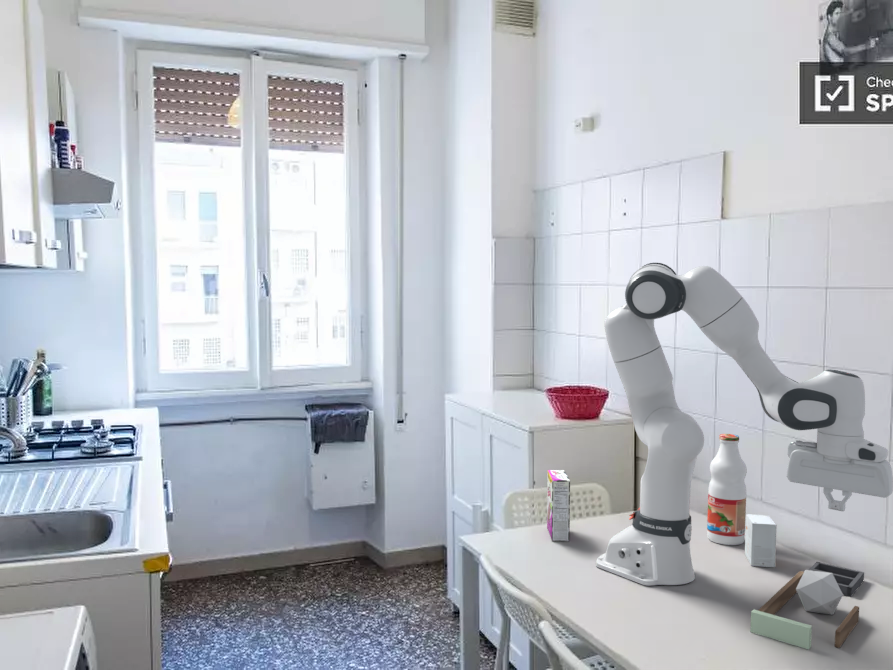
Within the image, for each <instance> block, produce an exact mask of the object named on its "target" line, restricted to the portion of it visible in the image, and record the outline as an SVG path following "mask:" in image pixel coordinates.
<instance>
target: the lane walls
mask: <svg viewBox="0 0 893 670" xmlns="http://www.w3.org/2000/svg"><path fill="white" fill-rule="evenodd" d="M803 573H804V571H801V570H799V571H798V572H797V573H796V574H795V575H794V576H792V578H790V579H789V581H787V583H785V584H784V585H783V586H782V587H781V588H780V589H779V590H778V591H776V593H775V594H774V595H772V597H770V598H769V599H768V600H767V601H766V602H765V603H764V604H763V605H762V606H761V607H760V608H759V609H757V610H758V611H762V612H765V613H769V614H772V615H776V614H777V613H778V612H779V611H780V610H781V609H782V608H783V607H784V606H785V605H787V603H788V602H789V601H790V600H791V599H792V598H793V597H794V596H795V595H796V594H798V593H797V591H796V588H797V586H798V584H799V581H800V579H801V577H802V575H803ZM859 620H860V606H858V605H854V606H853V607H852V609H851V610H850V611H849V613H848V614H847V615H846V616H845V618H844V619H843V620H842V622H841V623H840V624H839V625H838V627H837V628H836V629H835V633H834V647H835V648H838V649H840V648H841V647H842V645H843V644H844V642H845V641H846V639H848V637H849V636H850V634H851V633H852V631H853V630H854V628H855V627H856V626H857V625H858V623H859V622H860V621H859Z"/></svg>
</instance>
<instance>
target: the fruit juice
mask: <svg viewBox="0 0 893 670" xmlns="http://www.w3.org/2000/svg"><path fill="white" fill-rule="evenodd" d="M718 436H719V437H718V439H719V443H720V444H719V448H718V449H717V452H716V455H715V456H714V457H713V459H712V460H711V461H710V464H709V472H710V477H711V478H710V481H709V483H708V490H707V491H708V492H707V493H708V494H707V519H706V521H707V522H706V523H707V524H706V537H707V539H708V540H709V541H711V542H713V543H716V544H719V545H725V546H740V545H742V544H744V543H745V528H746V514H747V513H746V511H747V509H746V507H747V485H746V483H745V478H746V476H747V466H746V463H745V461H744V460H743V458H742V457H741V454H740V451H739V446H738V445H739V442H740V436H739V435H737V434H733V433H721V434H719V435H718Z"/></svg>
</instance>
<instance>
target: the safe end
mask: <svg viewBox="0 0 893 670" xmlns="http://www.w3.org/2000/svg"><path fill="white" fill-rule="evenodd" d="M758 610H759V609H753V610H751V611H750V631H749V632H750V633H753V634H756V635H759V636H763V637H765V638H769V639H773V640H775V641H780V642H781V643H782V642H783V643H785V644H789V645H793V646H795V647H799V648H802V649H806V650H810V649H811V647H812V633H813V632H812V630H813V626H812V625H811V624H808V623H804V622H801V621H797V620H793V619H790V618H786V617H783V616H778V615H776V614H775V615H772V614H769V613H765V612H762V611H758Z"/></svg>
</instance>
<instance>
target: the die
mask: <svg viewBox="0 0 893 670" xmlns="http://www.w3.org/2000/svg"><path fill="white" fill-rule="evenodd" d="M803 572H804V573H803V575H802V577H801V579H800V581H799V584H798V586H797V588H796V591H797V593H796V594H797V595H798V598H799V600H800V602H801V603H802V607H803V608H804V611H806V612H809V613H818V614H825V615H834V613H835V612H836V610H837V608H838V606H839V604H840V603H841V599H842V598H843V596H844V595H843V594H842V592H841V590H840V588H839V586H838V584H837V582H836V580H835V578H834V576H833V574H832V573H828V572H820V571H811V570H809V569H805V570H804V571H803Z"/></svg>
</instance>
